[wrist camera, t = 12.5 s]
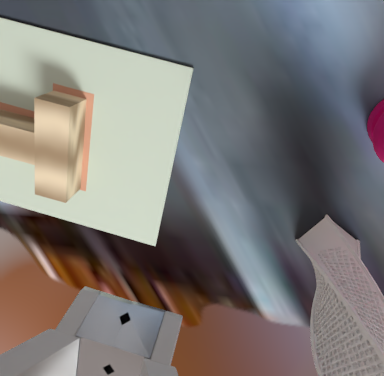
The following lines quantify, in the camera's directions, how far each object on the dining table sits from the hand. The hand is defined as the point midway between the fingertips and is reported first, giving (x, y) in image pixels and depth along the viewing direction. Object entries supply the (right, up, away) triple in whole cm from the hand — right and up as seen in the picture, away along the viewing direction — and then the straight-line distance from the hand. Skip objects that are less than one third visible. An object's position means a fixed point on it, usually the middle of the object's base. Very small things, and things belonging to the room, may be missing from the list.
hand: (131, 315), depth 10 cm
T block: (-17, +10, +33) cm, 39 cm away
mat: (-13, +10, +33) cm, 37 cm away
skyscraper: (+19, -3, +33) cm, 38 cm away
